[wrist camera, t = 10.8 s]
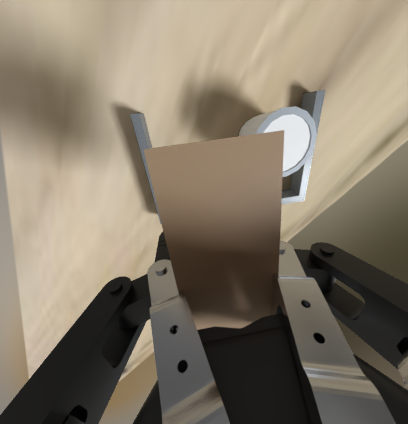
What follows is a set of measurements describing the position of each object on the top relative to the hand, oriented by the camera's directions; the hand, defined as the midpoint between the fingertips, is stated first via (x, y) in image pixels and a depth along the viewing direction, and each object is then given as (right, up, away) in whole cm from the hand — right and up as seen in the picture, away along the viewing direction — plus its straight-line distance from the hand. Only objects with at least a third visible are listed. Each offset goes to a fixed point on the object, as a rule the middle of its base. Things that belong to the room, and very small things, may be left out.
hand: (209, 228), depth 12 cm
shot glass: (+7, +11, +12) cm, 18 cm away
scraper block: (0, +2, 0) cm, 2 cm away
